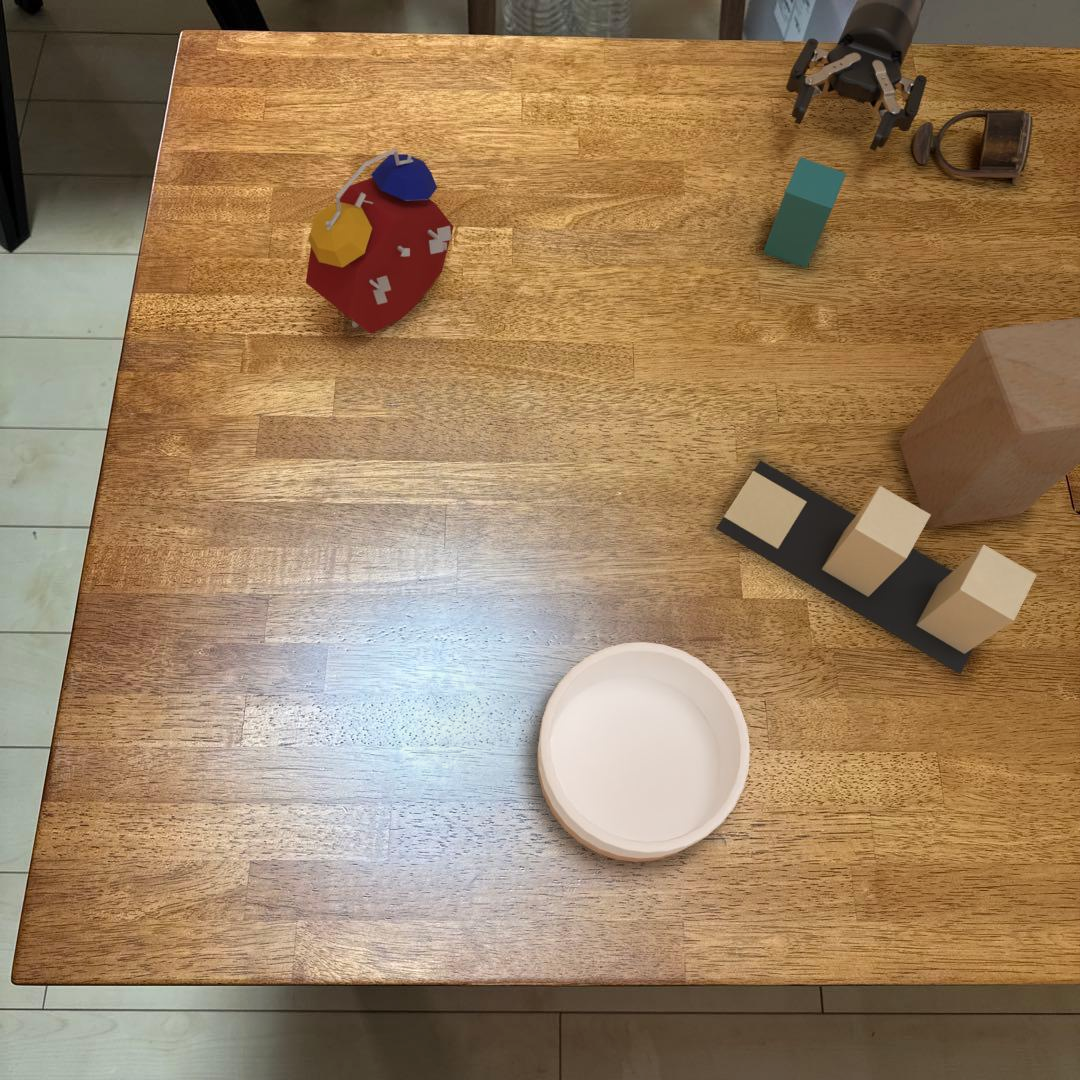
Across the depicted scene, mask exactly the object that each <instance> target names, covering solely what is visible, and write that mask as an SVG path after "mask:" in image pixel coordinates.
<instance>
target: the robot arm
mask: <svg viewBox="0 0 1080 1080" xmlns="http://www.w3.org/2000/svg"><path fill="white" fill-rule="evenodd" d="M925 3H926V0H856V1H855V3H854V4H853V7H852V10H851V11H850V14H849V16H848V18H847V20H846V22H845V25H844V27H843V30H842V32H841V35H840V37H839V39H838V41H837V44H836V45H835V47H834V48H833V49H831V50H829V51H828V50H825V49H823V48H821V47H818V45H819V41H818V40H817V39H816V38H808V39H807V41H806V43H805V45H804V46H803V48H802V49H801V52H800V54H799V55H798V56H797V59H796V60H795V62H794V64H793V66H792V67H791V70H790V73H789V76H788V79H787V83H786V86H785V89H786V91H787V92H788V93H796V94H797V97H796V99H795V102H794V103H793V104H794V105H793V107H792V111H791V117H793V118H794V124H796V125H799V126H800V125H802V122H803V121H804V117H805V116H806V113H807V111H808V108H809V106H810V104H811V102H812V100H814V99H817V98H818V97H820V98H821V99H823V98H826V97H828V96H830V95H833V94H835V93H837V95H836V96H839V97H842V98H846V99H852V100H853V101H855V102H857V103H859V104H862V105H865V103H867V105H868V107H869V109H870V111H871V114H872V116H873V117H876V118H877V119H878V122H879V124H878V126H877V129H876V131H875V134H874V136H873V139H872V141H871V143H870V146H869V150H870V151H873V152H876V151H877V150H878V148H880V149H883V148H884V147H885V146H886V144H887V142H888V140H889V138H890V135H891V132H892V131H893V129H894V128H898V129H899V130H900V131H902V132H908V131H909V130H910V129H911V127H912V124H913V122H914V119H915V117H917V116H918V115H917V114H918V113H919V109H920V106H921V105H920V104H921V103H922V99H923V96H924V92H925V88H926V85H927V83H928V79H927V77H926V76H925V75H922V74H919V75H917V76H916V77H915V79H912V78H908V77H905V76H903V75H902V72H901V69H902V66H903V63H904V61H905V58H906V56H907V53H908V51H909V48H910V46H911V44H912V42H913V38H914V36H915V33H916V31H917V28H918V26H919V21H920V15H921V13H922V10H923V8H924V5H925ZM820 64H823V67H822V68H821V69H820V70H819V71H817V72H815V73H813V74H809V75H807V76H806V73H807V72H808V70H809V71H812V70H813V69H814V68H815V67H817V66H819V65H820ZM896 90H899V91H900V92H901V93H900V94H901V95H900V96H901V98H902V99H901V101H902V102H903V103H904V106H903V108H901V107H900V105H899V103H898V101H897V99H896V97H895V95H896V93H895V91H896Z"/></svg>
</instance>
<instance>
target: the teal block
mask: <svg viewBox="0 0 1080 1080" xmlns="http://www.w3.org/2000/svg"><path fill="white" fill-rule="evenodd" d="M846 176H847V173H846V172H844V171H841V170H838V169H836V168H833V167H830V166H827V165H824V164H821V163H818V162H815V161H813V160H810V159H806V158H804V157H799V158H798V161H797V163H796V166H795V168H794V170H793V173H792V175H791V177H790V180H789V182H788V184H787V187H786V189H785V191H784V193H783V197H782V199H781V202H780V205H779V207H778V210H777V212H776V215H775V217H774V221H773V224H772V227H771V229H770V232H769V235H768V238H767V240H766V243H765V246H764V249H763V250H762V251H763V252H762V253H763V254H766V255H768V256H771V257H774V258H776V259H779V260H782V261H784V262H787V263H790V264H793V265H796V266H799V267H801V268H803V269H808V268H807V267H808V266H809V263H810V261H811V260H812V256H813V254H814V252H815V249H816V247H817V245H818V243H819V240H820V237H821V236H822V233H823V231H824V229H825V227H826V224H827V222H828V220H829V217H830V215H831V212H832V210H833V209H834V205H835V203H836V200H837V199H838V196H839V193H840V192H841V188H842V185H843V183H844V180H845V178H846Z"/></svg>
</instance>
